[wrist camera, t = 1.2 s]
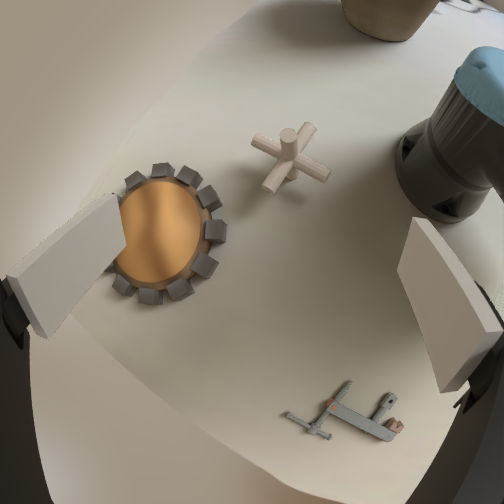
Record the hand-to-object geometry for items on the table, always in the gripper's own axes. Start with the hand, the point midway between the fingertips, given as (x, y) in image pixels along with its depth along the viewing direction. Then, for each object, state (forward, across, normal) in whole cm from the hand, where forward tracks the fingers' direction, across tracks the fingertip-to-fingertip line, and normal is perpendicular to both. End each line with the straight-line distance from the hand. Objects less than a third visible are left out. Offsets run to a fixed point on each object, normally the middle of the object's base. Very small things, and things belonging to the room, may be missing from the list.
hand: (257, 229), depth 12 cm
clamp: (+7, +13, -29) cm, 33 cm away
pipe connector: (+27, +2, -6) cm, 28 cm away
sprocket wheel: (+22, -16, -13) cm, 30 cm away
